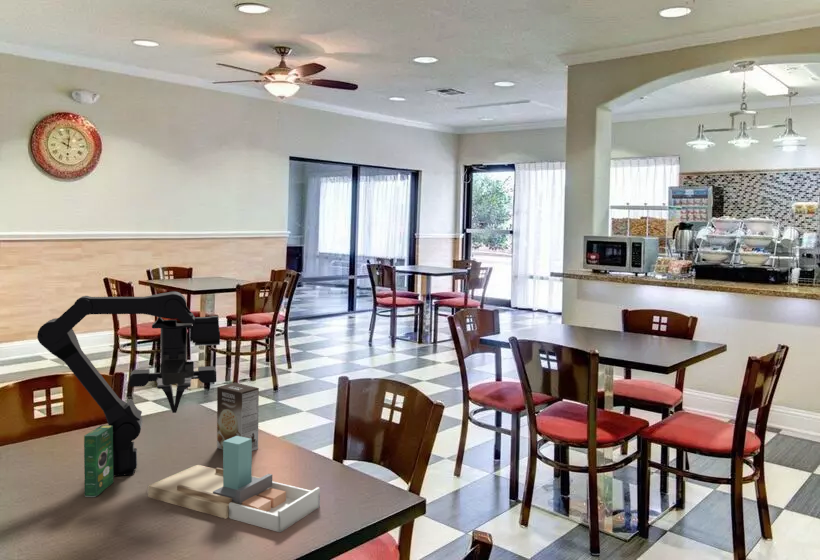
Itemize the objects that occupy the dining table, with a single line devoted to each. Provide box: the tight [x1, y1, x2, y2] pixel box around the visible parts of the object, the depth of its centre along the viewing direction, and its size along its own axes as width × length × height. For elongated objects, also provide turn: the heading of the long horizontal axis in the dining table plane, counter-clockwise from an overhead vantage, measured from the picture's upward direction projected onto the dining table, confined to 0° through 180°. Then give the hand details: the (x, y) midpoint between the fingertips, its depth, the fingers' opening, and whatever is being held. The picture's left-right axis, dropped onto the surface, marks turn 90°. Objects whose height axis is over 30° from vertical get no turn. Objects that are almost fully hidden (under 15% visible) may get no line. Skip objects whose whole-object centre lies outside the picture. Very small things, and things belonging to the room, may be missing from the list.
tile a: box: [258, 488, 286, 508], centre depth 136 cm, size 4×4×2 cm
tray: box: [228, 480, 321, 533], centre depth 132 cm, size 12×13×4 cm
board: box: [147, 464, 261, 520], centre depth 140 cm, size 21×14×4 cm, turn 64°
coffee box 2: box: [216, 381, 260, 452], centre depth 168 cm, size 9×6×16 cm
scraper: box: [213, 436, 273, 503], centre depth 135 cm, size 7×10×10 cm
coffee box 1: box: [83, 424, 114, 498], centre depth 141 cm, size 8×3×13 cm, turn 0°
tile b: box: [242, 495, 271, 512], centre depth 131 cm, size 4×4×2 cm
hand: (174, 412), depth 155 cm, fingers closed
